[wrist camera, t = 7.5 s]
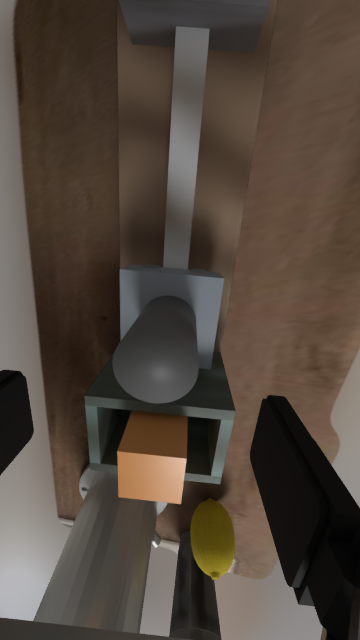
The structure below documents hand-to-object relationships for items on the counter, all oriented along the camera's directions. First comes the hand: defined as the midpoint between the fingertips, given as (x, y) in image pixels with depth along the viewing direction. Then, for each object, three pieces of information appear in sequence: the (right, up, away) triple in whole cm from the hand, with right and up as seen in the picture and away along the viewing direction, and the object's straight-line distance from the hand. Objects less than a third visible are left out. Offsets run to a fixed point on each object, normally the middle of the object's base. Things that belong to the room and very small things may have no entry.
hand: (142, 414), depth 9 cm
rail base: (+1, +10, +12) cm, 15 cm away
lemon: (+6, -22, +23) cm, 32 cm away
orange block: (0, -5, +8) cm, 9 cm away
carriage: (+1, +5, +11) cm, 12 cm away
